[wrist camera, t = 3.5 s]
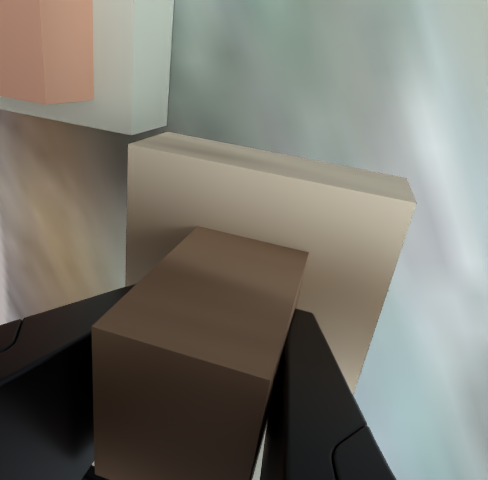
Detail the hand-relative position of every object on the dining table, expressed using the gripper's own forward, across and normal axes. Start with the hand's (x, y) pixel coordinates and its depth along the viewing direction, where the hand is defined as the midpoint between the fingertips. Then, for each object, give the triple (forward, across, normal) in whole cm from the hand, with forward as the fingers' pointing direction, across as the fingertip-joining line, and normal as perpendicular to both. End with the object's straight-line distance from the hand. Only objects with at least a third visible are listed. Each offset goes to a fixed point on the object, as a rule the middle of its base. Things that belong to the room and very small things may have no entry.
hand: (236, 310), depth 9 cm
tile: (+6, +10, -5) cm, 12 cm away
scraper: (+3, 0, 0) cm, 3 cm away
